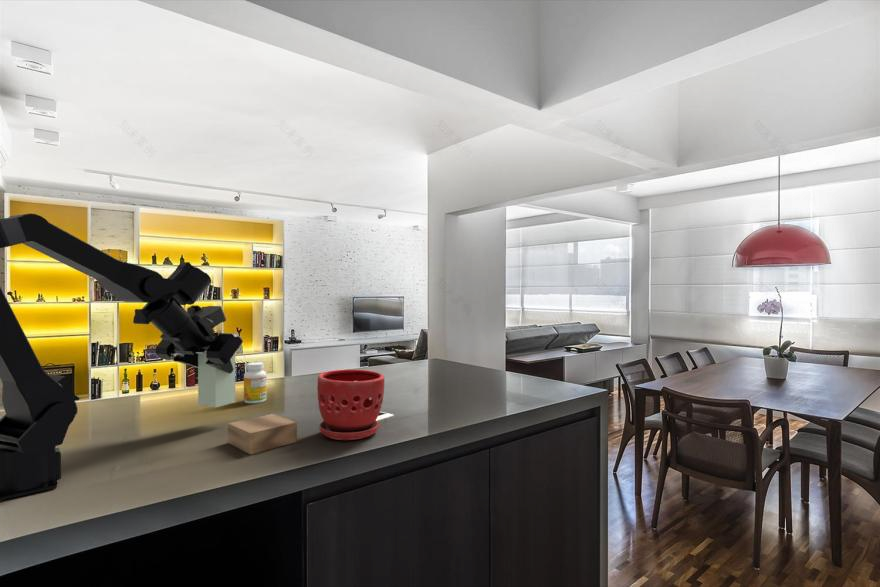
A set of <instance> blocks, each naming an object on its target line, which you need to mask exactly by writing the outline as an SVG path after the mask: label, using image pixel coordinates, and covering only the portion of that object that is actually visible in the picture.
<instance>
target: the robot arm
mask: <svg viewBox="0 0 880 587" xmlns="http://www.w3.org/2000/svg"><path fill="white" fill-rule="evenodd" d="M20 244H23V245H24V246H26V247H29V248H31V249H33V250H34V251H37V252H39V253H42V254H43V255H45V256H47V257H49V258H51V259H53V260H55V261H58V262H60V263H61V264H64V265H66V266H67V267H70V268H72V269H74V270H76V271H78V272H80V273H82V274H84V275H86V276H89V277H90V278H92V279H94V280H96V282H98V283H99V284H100V285H101V286H102V287H103V289H104V290H105V291H107V292H108V293H109V294H111V295H112V296H114V297H115V298H117V299H118V300H120V301H121V302H124V303H140V304H141V303H146V304H145V305H144V306H143V307H142V308H135V309H134V317H133V320H132V322H133V324H135V325H149V324H150V323H151V324H152V325H153V326H154V327H155V328H157V330H158V331H159V332H160V333H161V335H159V337H160V338H161V340H160V341H159V343H158V344H157V345H156V346H155V355H156V356H157V357H158V358H160V359H161V360H167V361H170V360H171V359H173V362H175V363H176V362H177V363H180V364H183V365H188V366H191V367H193V368H197V369H198V353H204V352H205V350H207V351H206V358H207V359H208V360H207V362H206V363H205V364H207V365H210V366H212V367H215V368H217V369H219V370H222V371H224V372H227V373H232V371H233V366H232V363H231V360H230V359H231V358H232V356H233V355H234V354H235V355H236V352H237V351H238V349H239V348H240V346H241V345H242V343H243V342H244V341H243V339H242V337H241V336H240V335H239V334H238V333H234V332H233V333H231V332H221V333H219V334H218V335H216V337H215V338H209V337H210V336H212V335H213V334H214V332H215V330H214V329H213V328H215V327H216V326H219V325H220V324H222V323H225V322H226V321H227V316H225V315H226V314H225V313H224V310H223V307H222V306H220V305H208V306H199V305H197V304H196V305H195V303H196V302H197V301H198V299H200V297H201V296H202V295H204V293H205V291H206V290H207V289H208V288H209V287H210V285H211V284H212V278H211V276H210V275H209V274H208V272H206V271H204V270H202V269H200V268H198V267H197V266H193V265H192V264H191V263H190V261H186V262H185V261H183V262H180V263H179V264H178V265H177V266H176V268H175V270H174V271H173V272H172V273H171V274H170V275H169V276H168V277H167V278H166V277H163V275H162V274H160V273H159V272H158V271H156V270H153V269H151V268H147V267H144V266H141V265H138V264H134V263H131V262H126V261H122V260H119V259H117V258H115V257H113V256H112V255H110V254H107V253H106V252H104V251H102V250H100V249H99V248H97V247H96V246H93V245H92V244H89V243H88V242H85V241H84V240H82V239H80V238H79V237H77V236H75V235H73V234H71V233H69V232H68V231H65V230H64V229H63V228H61V227H58V226H57V225H54V224H53V223H51V222H49V221H48V220H47V219H46V218H45V217H43V216H42V215H40V214H36V213H30V212H29V213H23V214H15V215H14V214H13V215H10V216H9V217H5V218H0V249H3V248H9V247H12V246H17V245H20ZM186 305H190V306H188V307H187V308H186V309H185V308H184V307H183V306H186ZM16 316H17V315H15V312H14V310H13V309H12V307H11V305H10V303H9V301H8V299H7V297H6V295H5V293H4V291H3V289H2V288H1V286H0V380H1V383H2V392H1V393H2V394H1V402H2V405H3V409H4V415H3V416H2V417H1V418H0V501H3V500H8V499H14V498H17V497H22V496H26V495H30V494H31V495H32V494H34V493H40V492H44V491H48V490H49V491H50V490H53V489H56V488H57V487H58V481H60V480H61V478H62V453H61V449H60V448H59V446H60V445H63V443H64V441H65V438H66V435H67V432H68V430H69V427H70V425H72V423H73V422H74V420H75V417H76V415H78V404H77V402H76V401H79V400H80V397H79V396H78V395H76V394H75V392H74V391H73V389H72V385H71V382H70V379H69V378H68V377H67V376H65V375H64V376H63V375H56V374H48V373H47V372H46V371H45V370H44V368H43V366H42V365H41V362H40V360H39V359H38V357H37V354H36V352H35V351H34V349H33V347H32V346H31V343H30V341H29V339H28V337H27V335H26V334H25V332H24V329H23V328H22V326H21V324H20V323H19V319H17V317H16ZM173 356H174V357H173ZM57 446H58V447H57Z"/></svg>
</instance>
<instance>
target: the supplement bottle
mask: <svg viewBox="0 0 880 587" xmlns="http://www.w3.org/2000/svg"><path fill="white" fill-rule="evenodd" d="M264 367H265V366H264V362H257V361H256V362H249V363H247V364H246V372H244V374H243V400H244V401H243V402H244V403H246V404H260V403H263V402H265V401H267V397H268V396H267V372H266V371H264Z"/></svg>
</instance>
